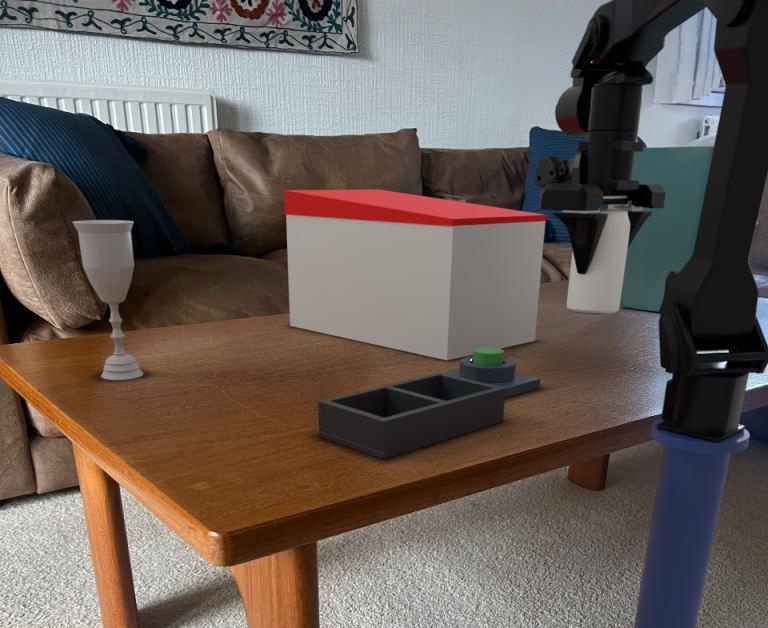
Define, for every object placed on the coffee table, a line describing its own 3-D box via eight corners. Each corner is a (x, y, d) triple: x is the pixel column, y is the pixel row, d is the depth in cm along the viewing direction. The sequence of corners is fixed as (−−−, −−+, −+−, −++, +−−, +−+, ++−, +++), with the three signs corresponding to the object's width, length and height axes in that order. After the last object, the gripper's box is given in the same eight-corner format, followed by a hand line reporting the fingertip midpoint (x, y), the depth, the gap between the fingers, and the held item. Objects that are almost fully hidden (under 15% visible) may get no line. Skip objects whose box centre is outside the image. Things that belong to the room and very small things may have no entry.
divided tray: (503, 421, 81) (505, 387, 80) (383, 459, 70) (384, 421, 69) (438, 403, 87) (439, 372, 86) (318, 436, 76) (317, 400, 75)
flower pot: (589, 307, 152) (607, 147, 141) (643, 297, 164) (664, 149, 153) (685, 320, 139) (714, 145, 127) (736, 309, 151) (766, 148, 140)
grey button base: (539, 388, 94) (542, 363, 93) (498, 400, 89) (500, 374, 88) (475, 373, 101) (476, 350, 99) (433, 383, 95) (434, 359, 94)
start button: (508, 365, 94) (510, 350, 93) (490, 369, 91) (491, 355, 91) (485, 360, 96) (486, 346, 95) (466, 364, 94) (467, 350, 93)
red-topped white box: (377, 312, 143) (378, 189, 135) (534, 340, 121) (547, 195, 112) (288, 325, 130) (283, 190, 122) (446, 360, 107) (453, 196, 99)
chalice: (91, 370, 99) (70, 220, 92) (146, 366, 102) (130, 219, 95) (96, 384, 93) (74, 224, 86) (154, 379, 96) (137, 223, 89)
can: (598, 316, 94) (612, 209, 90) (555, 310, 99) (566, 208, 94) (628, 313, 98) (643, 210, 94) (585, 307, 103) (597, 209, 98)
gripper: (595, 137, 102) (582, 262, 108) (507, 130, 90) (498, 271, 96) (676, 135, 94) (657, 269, 101) (591, 127, 83) (575, 280, 89)
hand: (596, 272), depth 97 cm, fingers closed on can, 6 cm apart
